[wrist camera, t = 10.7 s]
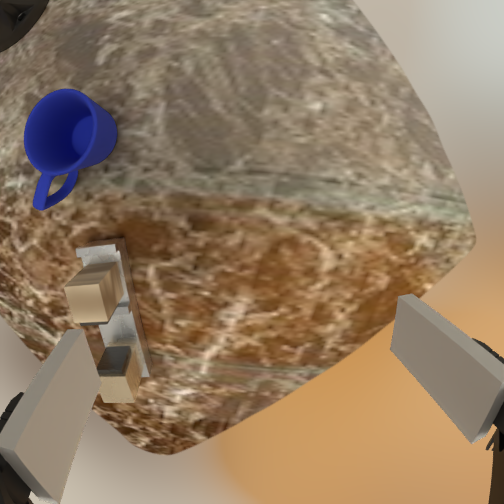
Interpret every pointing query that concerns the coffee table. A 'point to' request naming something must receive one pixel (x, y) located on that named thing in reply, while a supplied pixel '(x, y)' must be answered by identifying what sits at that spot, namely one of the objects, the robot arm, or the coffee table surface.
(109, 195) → the coffee table surface
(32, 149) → the mug
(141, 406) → the coffee table surface
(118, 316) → the rail
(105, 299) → the tan cardboard carton
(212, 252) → the coffee table surface
